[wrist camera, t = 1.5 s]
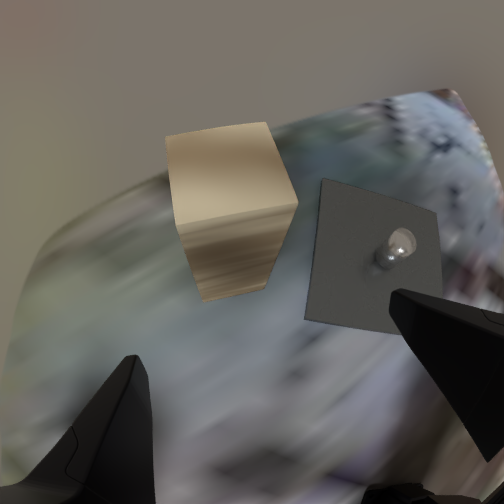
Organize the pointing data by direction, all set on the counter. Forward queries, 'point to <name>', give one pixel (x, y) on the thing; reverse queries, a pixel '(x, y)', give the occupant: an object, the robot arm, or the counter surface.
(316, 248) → the post plate
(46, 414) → the counter surface
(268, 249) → the birch post
